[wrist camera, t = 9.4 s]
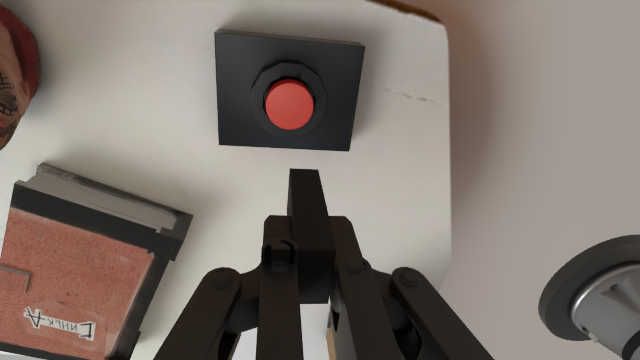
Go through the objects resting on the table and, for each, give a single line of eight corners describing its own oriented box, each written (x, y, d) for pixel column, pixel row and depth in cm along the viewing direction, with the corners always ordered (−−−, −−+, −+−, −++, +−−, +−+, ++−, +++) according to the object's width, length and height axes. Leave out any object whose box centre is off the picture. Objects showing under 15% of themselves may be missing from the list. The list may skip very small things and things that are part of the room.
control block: (359, 42, 35) (369, 48, 31) (345, 142, 41) (352, 158, 37) (218, 29, 33) (211, 33, 29) (222, 135, 38) (216, 152, 35)
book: (34, 160, 37) (2, 182, 33) (193, 215, 43) (183, 241, 39) (2, 316, 47) (-26, 349, 43) (134, 345, 53) (122, 377, 48)
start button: (313, 80, 33) (315, 84, 31) (309, 124, 35) (311, 131, 33) (266, 76, 32) (266, 81, 30) (265, 122, 34) (265, 128, 33)
